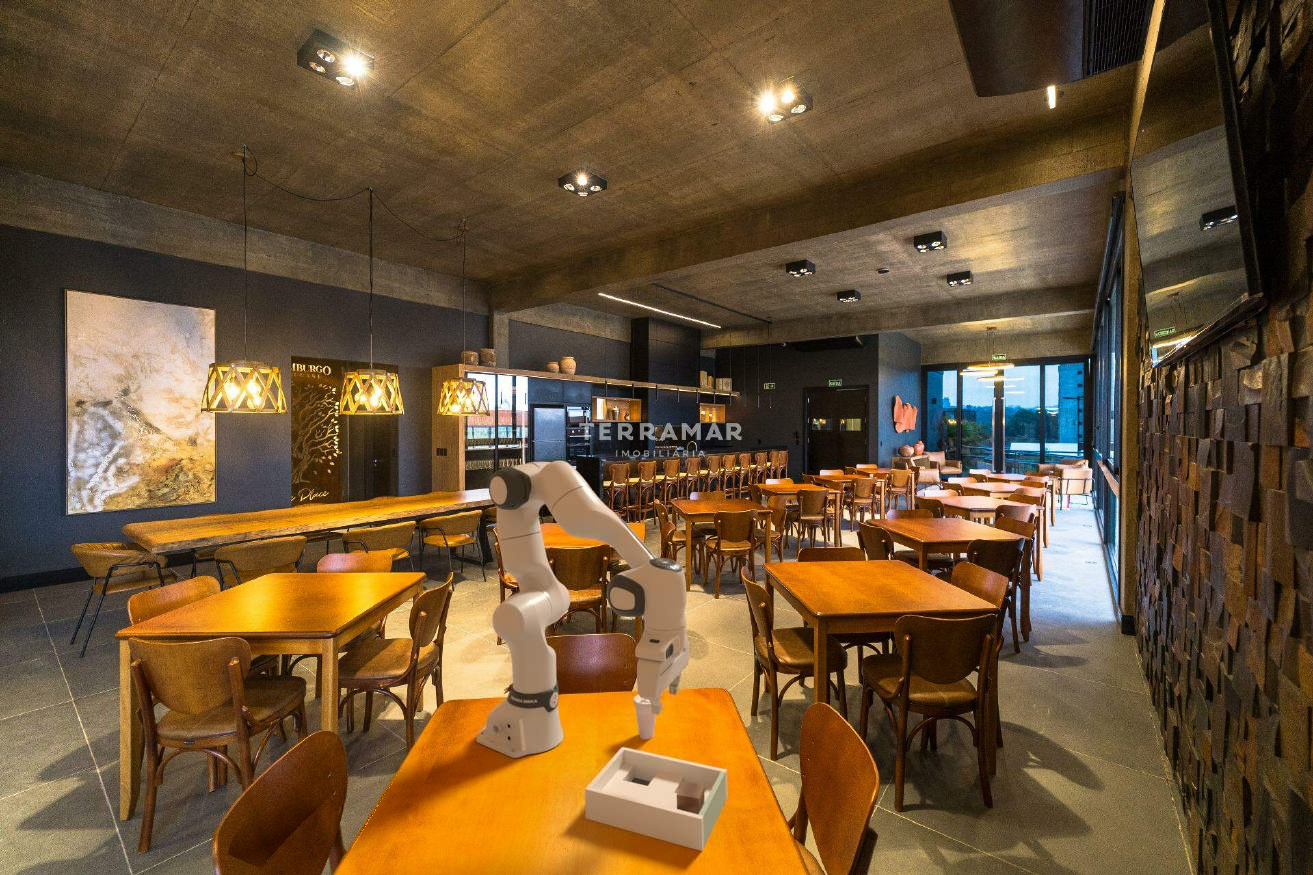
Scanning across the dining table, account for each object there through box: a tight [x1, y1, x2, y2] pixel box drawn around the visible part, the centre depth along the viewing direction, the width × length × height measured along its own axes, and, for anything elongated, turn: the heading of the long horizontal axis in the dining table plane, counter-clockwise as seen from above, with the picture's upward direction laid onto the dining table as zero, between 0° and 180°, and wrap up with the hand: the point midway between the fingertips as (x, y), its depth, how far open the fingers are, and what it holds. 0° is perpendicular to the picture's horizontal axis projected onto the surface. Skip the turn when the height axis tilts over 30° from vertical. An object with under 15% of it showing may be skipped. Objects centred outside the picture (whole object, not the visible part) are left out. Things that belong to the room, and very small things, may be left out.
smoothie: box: [633, 694, 657, 740], centre depth 148 cm, size 6×6×14 cm
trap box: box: [584, 746, 728, 852], centre depth 119 cm, size 25×17×6 cm
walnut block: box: [677, 781, 705, 814], centre depth 113 cm, size 4×4×4 cm
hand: (665, 702), depth 120 cm, fingers open, 8 cm apart
